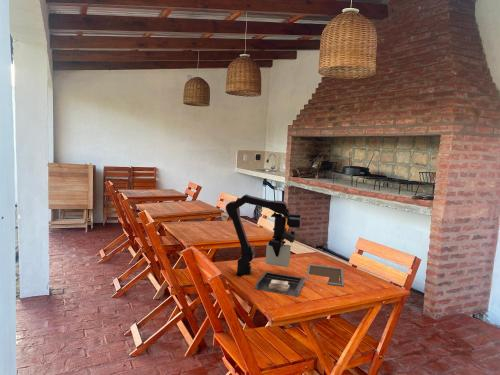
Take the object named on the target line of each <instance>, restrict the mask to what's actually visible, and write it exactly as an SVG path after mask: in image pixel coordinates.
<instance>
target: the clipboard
mask: <svg viewBox="0 0 500 375" xmlns="http://www.w3.org/2000/svg"><path fill="white" fill-rule="evenodd" d="M309 275H312V276H317V277H325V278H328V281H324V284H325V283H326V284H327V286H332V287H333V286H334V287H341V288H345V281H344V280H345V279H344V268H342V267H335V266H334V267H333V266H327V265H318V264H308V267H307V271H306V276H305V280H306V281H310V282H320V283H323V281H320V280H315V279H314V280H313V279H309ZM339 276H340V277H339ZM339 278H340V281H339ZM339 282H340V283H339Z"/></svg>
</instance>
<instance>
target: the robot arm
mask: <svg viewBox="0 0 500 375" xmlns="http://www.w3.org/2000/svg"><path fill="white" fill-rule="evenodd" d="M245 204H249V205H254V206H257V207H261V208H265V209H268V210H270V211H271V212H273V213H272V214H271V215H270V217H271V218H274V221H273V222H274V224H273V228H272V231H273V235H272V238H271V239H270V240H269V241H268V242H269V246H272V247H273V250H274V252H275V255H276V257H278V256H279V252H280V248H281V247H282V246H283V245H286V243H287V241H288V242H289V243H291V244H293V243H294V242H295V240H296V238H297V235H296V231H294V230H291V231H287V230H288V229H287V228H286V226H288V228H295V229H300V228H301V222H302V220H301V216H302V215H301V214H299V213H298V214H294V213H291V211H289V209H288V205H287V204H288V203H287V202H286V201H284V200H269V199H267V198H266V199H265V198H261V197H257V196H252V195H250V194H244V195H243V196H241V197H240V198H238V199H236V200H231V201H229V202H228V203H227V204H226V205H225V211H226V214H228V217H229V218H230V219H231V221H232V224H233V226H234V229H235V232H236V235H237V239H238V242H239V244H240V253H241V255H240V257H239V258H238V259H237V260H236V261H237V267H236V268H237V270H236V273H235V276H237V277H238V276H240V277H244V276H246V275H249V276H250V275H251V274H252V265H251V264H252V263H251V262H252V261H253V259H254V257H255V256H256V249H255V246H254V244H251V243H250V242H249V240H248V236H247V235H246V231H245V227H244V225H243V221H242V219H241V210H240V207H242V206H243V205H245Z"/></svg>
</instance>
